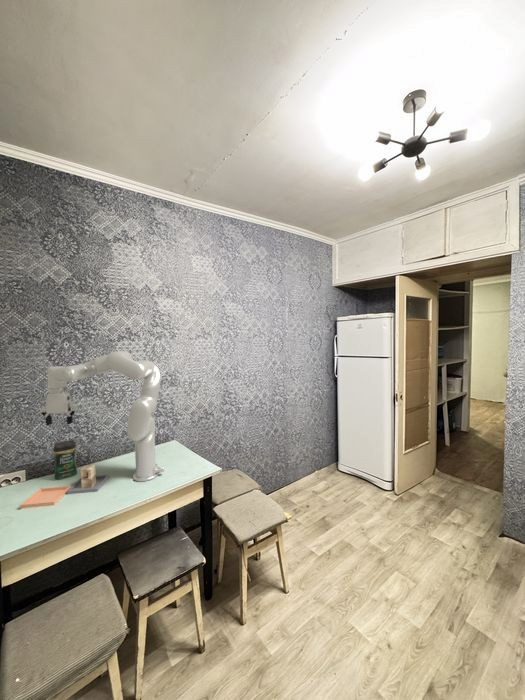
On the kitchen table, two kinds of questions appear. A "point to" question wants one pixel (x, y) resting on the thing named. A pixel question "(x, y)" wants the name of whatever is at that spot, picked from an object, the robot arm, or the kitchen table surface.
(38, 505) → the terracotta dish
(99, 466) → the kitchen table surface
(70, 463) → the coffee jar
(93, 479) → the notched wooden block
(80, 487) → the charcoal tray
